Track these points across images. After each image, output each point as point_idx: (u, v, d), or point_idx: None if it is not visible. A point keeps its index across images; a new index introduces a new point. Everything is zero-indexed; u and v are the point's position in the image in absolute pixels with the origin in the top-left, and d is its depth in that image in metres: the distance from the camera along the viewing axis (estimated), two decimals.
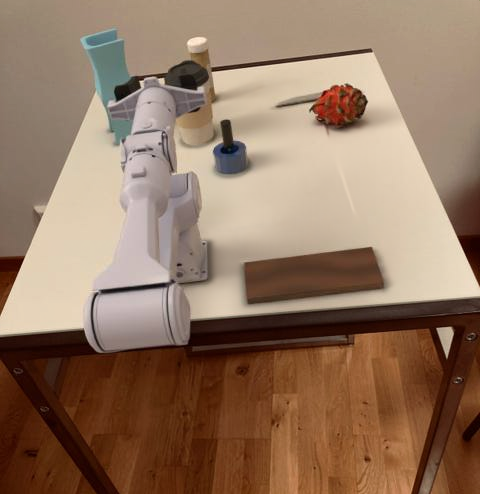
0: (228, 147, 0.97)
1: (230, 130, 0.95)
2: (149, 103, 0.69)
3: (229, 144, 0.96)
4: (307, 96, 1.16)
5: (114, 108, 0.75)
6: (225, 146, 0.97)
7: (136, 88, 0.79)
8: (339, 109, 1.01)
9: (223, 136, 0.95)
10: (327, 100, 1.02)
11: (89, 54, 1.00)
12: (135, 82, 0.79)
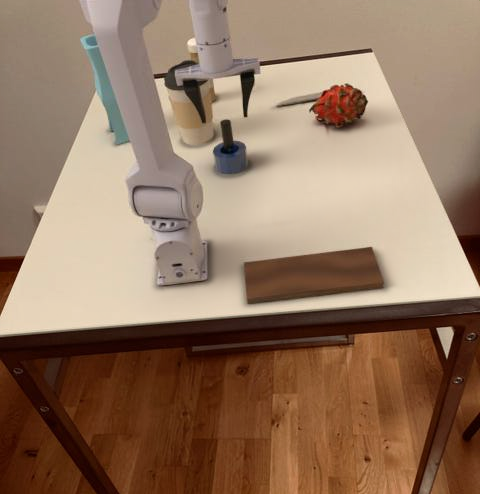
0: (228, 147, 0.97)
1: (230, 130, 0.95)
2: None
3: (229, 144, 0.96)
4: (307, 96, 1.16)
5: None
6: (225, 146, 0.97)
7: (202, 105, 0.92)
8: (339, 109, 1.01)
9: (223, 136, 0.95)
10: (327, 100, 1.02)
11: (89, 54, 1.00)
12: (202, 105, 0.92)
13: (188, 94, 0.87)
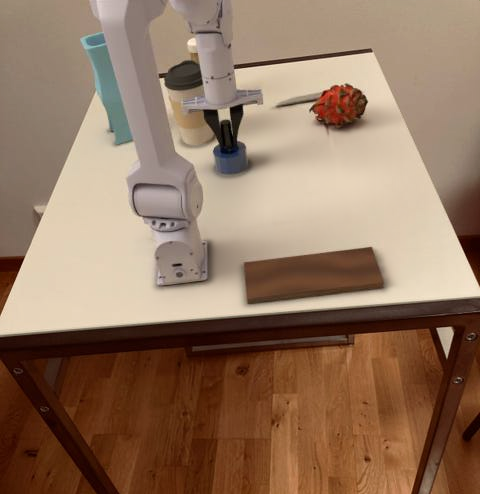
0: (228, 147, 0.97)
1: (230, 130, 0.95)
2: None
3: (229, 144, 0.96)
4: (307, 96, 1.16)
5: None
6: (225, 146, 0.97)
7: (220, 131, 0.95)
8: (339, 109, 1.01)
9: (223, 136, 0.95)
10: (327, 100, 1.02)
11: (89, 54, 1.00)
12: None
13: (208, 122, 0.91)
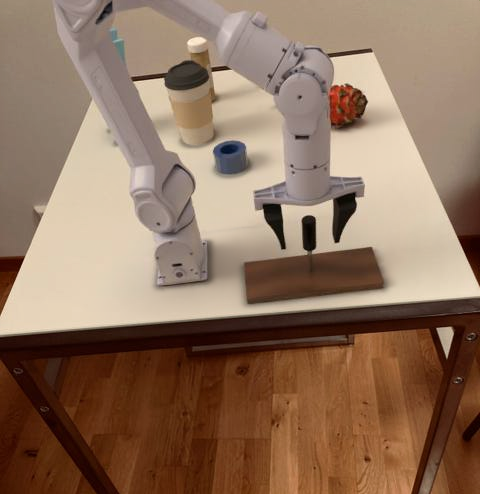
0: (309, 249, 0.73)
1: (314, 229, 0.71)
2: (329, 155, 0.62)
3: (311, 246, 0.73)
4: None
5: None
6: (305, 247, 0.73)
7: None
8: (339, 109, 1.01)
9: (304, 236, 0.72)
10: None
11: None
12: None
13: (270, 222, 0.68)
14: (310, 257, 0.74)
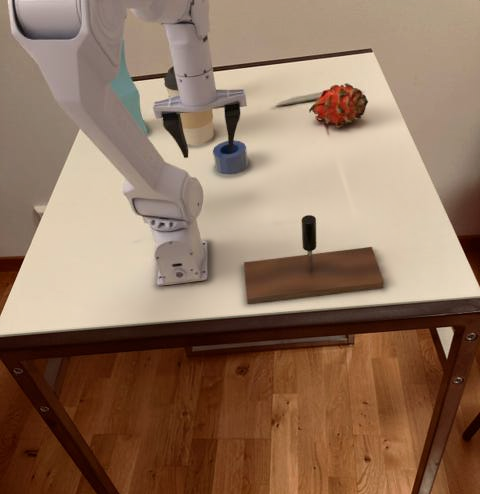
0: (309, 249, 0.73)
1: (314, 229, 0.71)
2: None
3: (311, 246, 0.73)
4: (307, 96, 1.16)
5: None
6: (305, 247, 0.73)
7: (184, 138, 0.84)
8: (339, 109, 1.01)
9: (304, 236, 0.72)
10: (327, 100, 1.02)
11: None
12: (184, 138, 0.85)
13: (167, 128, 0.80)
14: (310, 257, 0.74)
